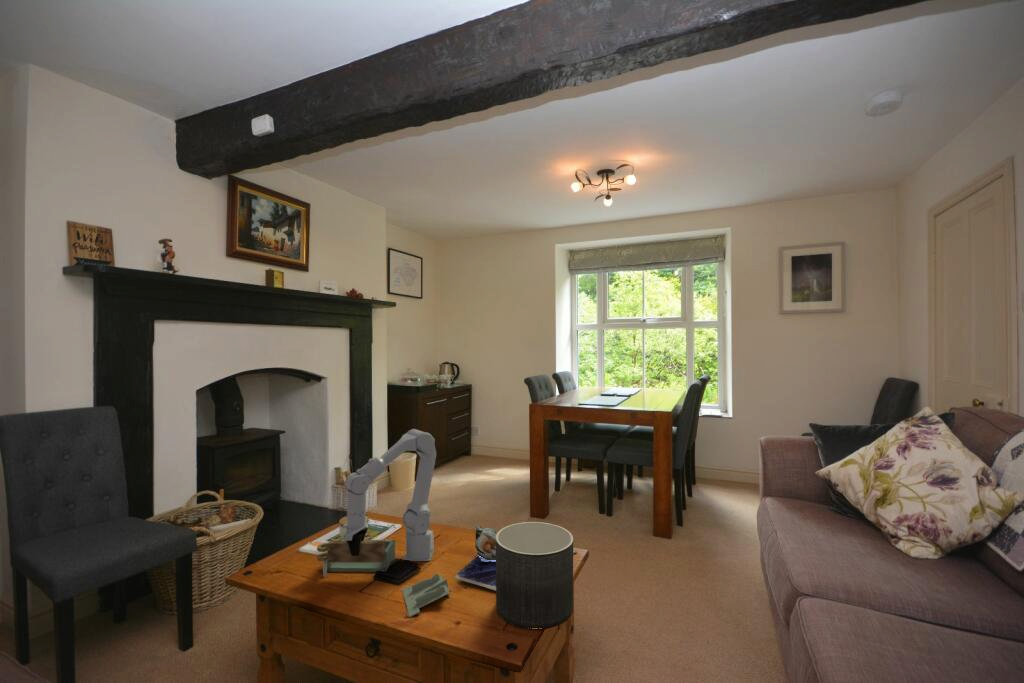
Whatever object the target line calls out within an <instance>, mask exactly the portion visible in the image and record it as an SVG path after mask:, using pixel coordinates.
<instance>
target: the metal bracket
mask: <svg viewBox="0 0 1024 683" xmlns="http://www.w3.org/2000/svg"><path fill="white" fill-rule="evenodd" d="M448 583H449V582H448V579H444V577H443V575H442V574H438V573H435V574H433V576H432V577H431V578H426V579H422V580H420V581H418V582H417V583H414V584H412V585H408V586H406V587H403V588H402V589H401V590H402V591H401V593H402V592H403V595H404V596H403V595H402V596H403V599H404V598H405V600H404V603H405V606H406V605H407V607H406V613H407V612H408V614H407V617H408V616H409V618H412V617H414V616H415V615H417V614H420V608H423V607H425V606H427V605H429V604H431V603H433V602H435V601H436V600H439V599H441V598H443V597H444V596H447V597H448V598H450V595H449V594H450V593H451V592H452V591H451V589H449V584H448Z"/></svg>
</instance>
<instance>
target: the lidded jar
mask: <svg viewBox="0 0 1024 683" xmlns="http://www.w3.org/2000/svg"><path fill="white" fill-rule="evenodd" d="M366 517H367V523H366V527H367V528H368V529H369V521H370V520H369V519H370V518H369V516H367V515H366ZM345 524H347V515H346V516H343V517H342V518H340V519H339V521H338V527H339V534H340V537H341V539H345V538H344V535H345V534H346V528H343V526H344V525H345ZM367 532H368V531H367ZM367 532H366V534H367Z"/></svg>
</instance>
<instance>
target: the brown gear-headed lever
mask: <svg viewBox="0 0 1024 683" xmlns="http://www.w3.org/2000/svg"><path fill="white" fill-rule="evenodd" d="M316 551H317V552H319V553H318V554H317V557H316V559H317V561H318V562H323V561H328V562H384V560H385V541H361V543H360V550H359V555H358V556H351V552H350V548H349V545H348V543H347V541H337V540H329V541H328V542H323V543H321V544H317V546H316ZM327 551H328V552H327Z"/></svg>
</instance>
